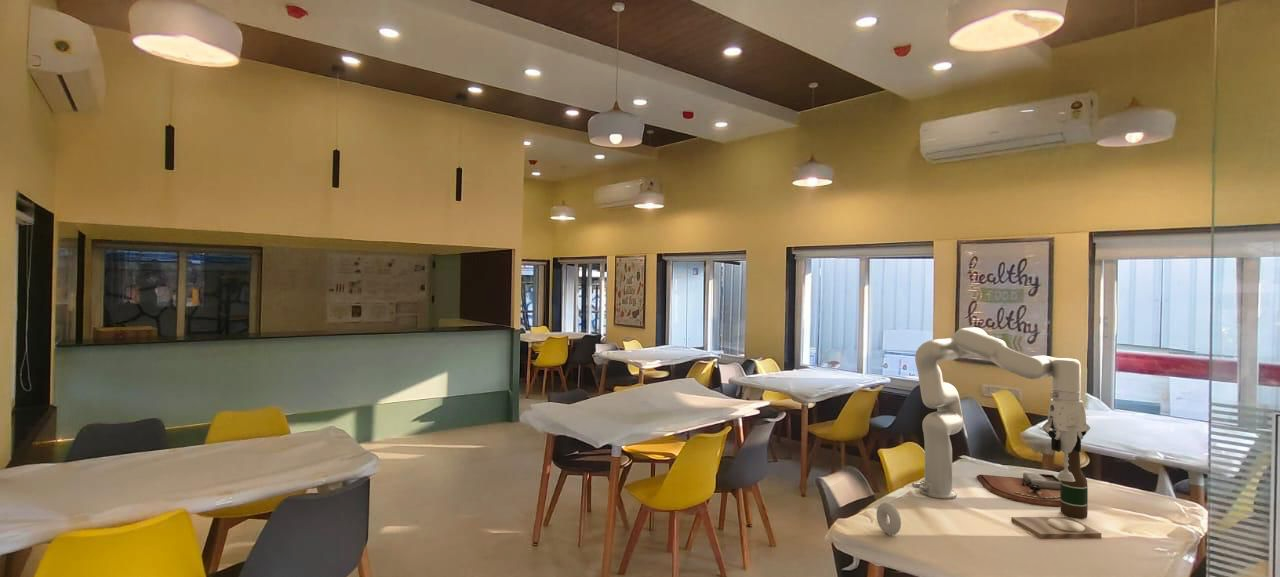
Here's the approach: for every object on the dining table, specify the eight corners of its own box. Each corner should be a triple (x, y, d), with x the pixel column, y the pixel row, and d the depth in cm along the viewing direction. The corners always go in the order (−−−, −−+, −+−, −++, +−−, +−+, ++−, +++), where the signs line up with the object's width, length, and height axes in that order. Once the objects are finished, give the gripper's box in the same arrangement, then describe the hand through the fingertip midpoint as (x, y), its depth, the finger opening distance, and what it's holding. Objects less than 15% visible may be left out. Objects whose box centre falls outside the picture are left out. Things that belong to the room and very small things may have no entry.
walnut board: (1040, 538, 188) (1040, 532, 188) (1011, 521, 202) (1011, 515, 202) (1101, 538, 188) (1101, 531, 188) (1068, 520, 202) (1068, 514, 202)
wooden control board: (1061, 473, 241) (1094, 498, 212) (1061, 486, 240) (1094, 512, 212) (976, 466, 250) (996, 489, 221) (976, 478, 250) (996, 502, 221)
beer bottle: (1058, 515, 207) (1058, 447, 208) (1062, 509, 213) (1062, 443, 213) (1086, 521, 202) (1086, 451, 202) (1088, 515, 208) (1089, 447, 208)
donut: (903, 539, 187) (903, 508, 187) (894, 541, 186) (894, 509, 186) (883, 527, 196) (883, 497, 196) (874, 528, 195) (874, 498, 195)
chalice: (1055, 474, 199) (1056, 421, 199) (1080, 479, 194) (1081, 424, 194) (1051, 479, 194) (1051, 424, 194) (1076, 484, 189) (1076, 428, 189)
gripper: (1049, 398, 190) (1048, 454, 190) (1100, 398, 191) (1100, 453, 191) (1032, 394, 198) (1032, 447, 198) (1082, 394, 198) (1082, 447, 198)
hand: (1066, 450), depth 194 cm, fingers closed on chalice, 6 cm apart
